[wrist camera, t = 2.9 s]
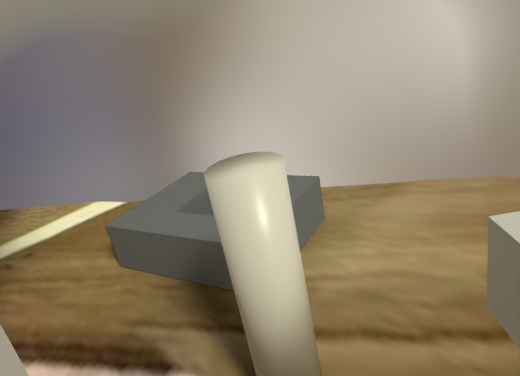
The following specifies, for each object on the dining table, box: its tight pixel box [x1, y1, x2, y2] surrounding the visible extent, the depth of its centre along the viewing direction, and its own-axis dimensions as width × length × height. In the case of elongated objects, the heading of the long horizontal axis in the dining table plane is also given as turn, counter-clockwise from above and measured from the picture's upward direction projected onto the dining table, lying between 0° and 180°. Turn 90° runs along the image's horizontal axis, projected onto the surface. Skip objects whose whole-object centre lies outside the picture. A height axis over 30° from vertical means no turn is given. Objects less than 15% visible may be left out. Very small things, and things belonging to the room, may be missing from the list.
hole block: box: [105, 172, 325, 291], centre depth 43 cm, size 18×14×5 cm
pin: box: [204, 152, 322, 376], centre depth 23 cm, size 4×4×15 cm
